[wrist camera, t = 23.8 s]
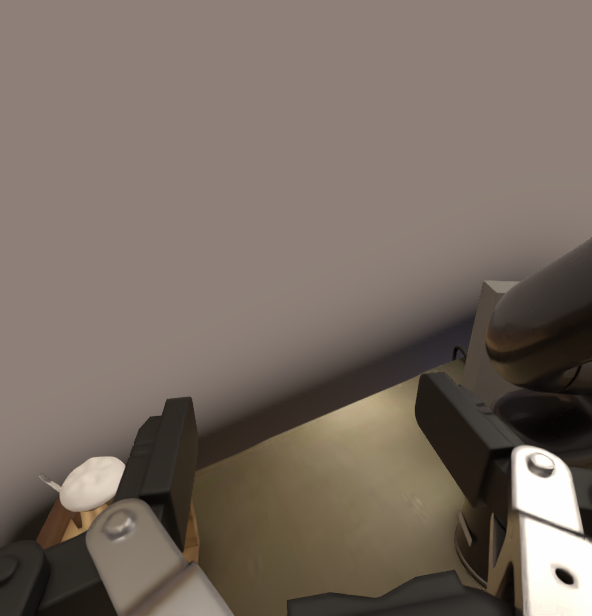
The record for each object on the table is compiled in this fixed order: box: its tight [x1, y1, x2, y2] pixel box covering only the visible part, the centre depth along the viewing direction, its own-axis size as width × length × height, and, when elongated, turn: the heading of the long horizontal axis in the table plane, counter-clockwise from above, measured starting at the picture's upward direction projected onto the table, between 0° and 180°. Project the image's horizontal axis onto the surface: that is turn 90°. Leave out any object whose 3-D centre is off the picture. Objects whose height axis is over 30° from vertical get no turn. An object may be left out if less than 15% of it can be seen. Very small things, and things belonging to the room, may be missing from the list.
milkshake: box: [39, 457, 125, 534], centre depth 28 cm, size 4×5×10 cm
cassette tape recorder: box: [461, 281, 524, 408], centre depth 56 cm, size 14×6×25 cm, turn 83°
